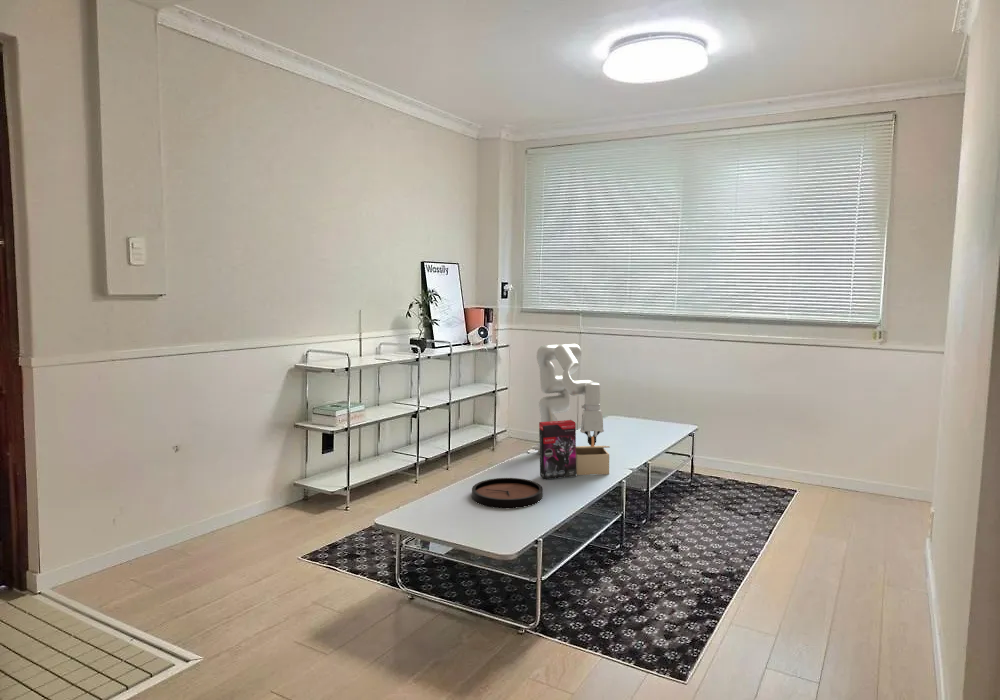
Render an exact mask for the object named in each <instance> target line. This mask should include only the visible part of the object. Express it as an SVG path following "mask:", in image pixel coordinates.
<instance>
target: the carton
mask: <svg viewBox="0 0 1000 700" xmlns="http://www.w3.org/2000/svg"><path fill="white" fill-rule="evenodd" d="M590 474H597V475H610V453H609V452H608V451H607V450H606V449H605V448H576V476H587V475H588V476H591V475H590Z"/></svg>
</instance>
